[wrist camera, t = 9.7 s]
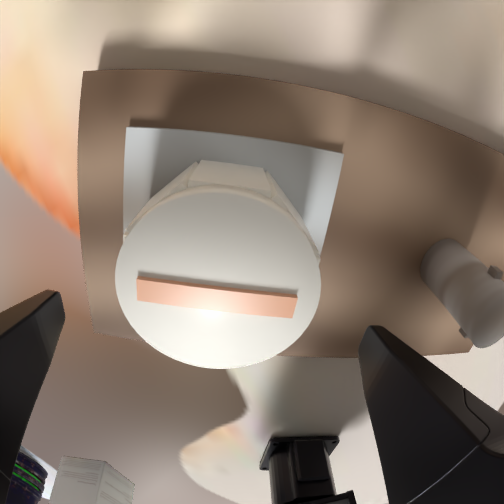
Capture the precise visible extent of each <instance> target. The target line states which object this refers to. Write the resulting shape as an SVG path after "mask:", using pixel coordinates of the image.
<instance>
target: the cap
mask: <svg viewBox="0 0 504 504" xmlns="http://www.w3.org/2000/svg"><path fill="white" fill-rule="evenodd" d="M125 230H126V232H125V233H124V234H123V245H122V247H121V249H120V252H119V255H118V258H117V263H116V269H115V286H116V292H117V297H118V300H119V303H120V306H121V308H122V310H123V313H124V315H125V317H126V318H127V320H128V321H129V323H130V325H131V326H132V327H133V328H134V330H135V331H136V332H137V333H138V334H139V335H140V336H141V337H142V338H143V339H144V340H145V341H146V342H147V343H149V344H150V345H151V346H152V347H154V348H155V349H157V350H158V351H160V352H162V353H163V354H165V355H167V356H169V357H171V358H173V359H175V360H178V361H181V362H183V363H186V364H190V365H194V366H199V367H205V368H215V369H228V368H238V367H244V366H249V365H253V364H256V363H259V362H262V361H265V360H267V359H269V358H271V357H273V356H275V355H277V354H279V353H280V352H282V351H284V350H285V349H286V348H288V347H289V346H290V345H292V344H293V343H294V342H295V341H296V340H297V339H298V338H299V337H300V336H301V335H302V334H303V332H304V331H305V330H306V328H307V327H308V326H309V324H310V322H311V320H312V319H313V317H314V314H315V312H316V309H317V307H318V303H319V299H320V292H321V277H320V270H319V263H320V257H319V255H318V254H320V253H319V251H318V249H317V247H316V245H315V243H314V241H313V239H312V237H311V235H310V233H309V231H308V229H307V227H306V225H305V223H304V221H303V219H302V217H301V216H300V214H299V213H298V212H297V210H296V209H295V207H294V206H293V205H292V203H291V202H290V200H289V199H288V198H287V196H286V195H285V193H284V192H283V191H282V189H281V188H280V187H279V185H278V184H277V182H276V181H275V180H274V178H273V177H272V176H271V174H270V173H269V172H268V171H266V172H264V169H263V168H261V167H255V166H248V165H240V164H233V163H225V162H217V161H208V160H201V161H200V163H199V164H198V163H197V161H196V162H194V163H193V164H192V165H191V166H189V167H188V168H187V169H186V170H184V171H183V172H182V173H181V174H179V175H178V176H177V177H176V178H175V179H173V180H172V181H171V182H170V183H168V184H167V185H166V186H165V187H164V188H162V189H161V190H160V191H159V192H158V193H156V194H155V195H154V196H153V197H152V198H151V199H150V200H149V201H148V202H147V204H146V205H145V206H144V207H143V208H142V210H141V211H140V212H139V213H138V215H137V216H136V217H135V218H134V219H133V221H132V222H131V223H130V224H129V226H128V227H127V228H126V229H125Z"/></svg>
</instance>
